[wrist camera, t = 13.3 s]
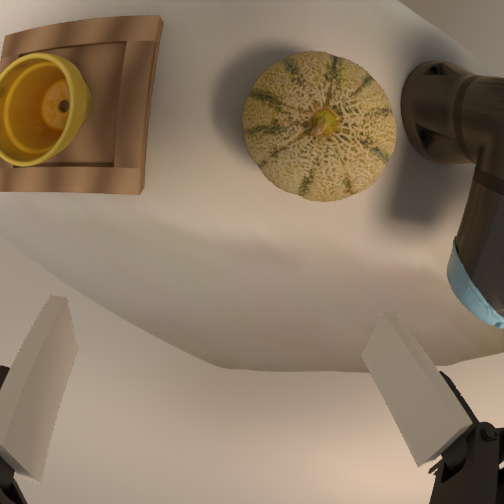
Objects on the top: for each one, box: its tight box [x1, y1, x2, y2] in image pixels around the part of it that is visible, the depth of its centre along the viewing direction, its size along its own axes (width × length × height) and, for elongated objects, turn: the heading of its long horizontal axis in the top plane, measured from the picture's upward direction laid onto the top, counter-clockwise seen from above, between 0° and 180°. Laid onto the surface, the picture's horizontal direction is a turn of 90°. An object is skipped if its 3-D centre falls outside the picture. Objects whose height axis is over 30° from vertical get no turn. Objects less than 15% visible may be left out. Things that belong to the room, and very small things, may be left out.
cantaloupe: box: [242, 51, 397, 202], centre depth 27 cm, size 15×15×15 cm
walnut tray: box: [0, 16, 163, 195], centre depth 27 cm, size 20×20×3 cm
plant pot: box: [0, 53, 92, 167], centre depth 23 cm, size 10×10×10 cm
